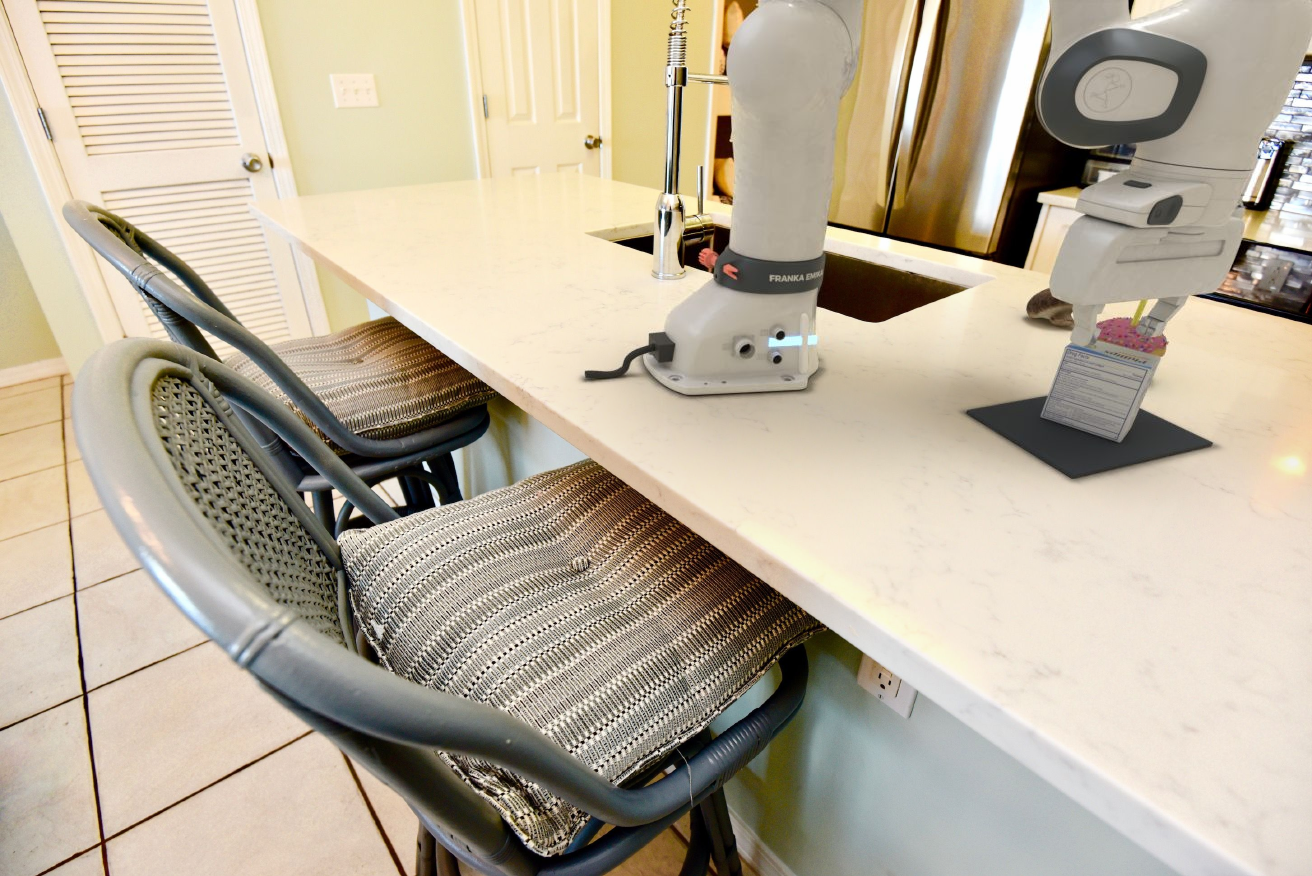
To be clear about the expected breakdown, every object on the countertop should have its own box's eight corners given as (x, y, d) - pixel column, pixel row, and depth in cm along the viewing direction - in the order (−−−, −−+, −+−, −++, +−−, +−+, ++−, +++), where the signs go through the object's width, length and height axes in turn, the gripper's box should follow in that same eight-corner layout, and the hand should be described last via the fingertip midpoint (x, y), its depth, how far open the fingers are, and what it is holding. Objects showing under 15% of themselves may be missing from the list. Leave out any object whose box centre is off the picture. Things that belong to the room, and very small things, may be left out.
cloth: (1072, 478, 63) (1073, 475, 63) (965, 413, 75) (966, 409, 74) (1211, 445, 70) (1213, 442, 70) (1094, 389, 81) (1095, 386, 81)
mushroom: (1099, 315, 95) (1088, 274, 96) (1037, 330, 98) (1027, 290, 98) (1085, 325, 102) (1075, 286, 103) (1028, 339, 105) (1018, 301, 106)
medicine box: (1130, 430, 71) (1163, 356, 67) (1119, 445, 68) (1153, 368, 64) (1051, 405, 76) (1078, 334, 72) (1038, 418, 73) (1065, 344, 69)
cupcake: (1152, 393, 81) (1196, 297, 75) (1073, 376, 84) (1108, 283, 78) (1151, 369, 87) (1190, 279, 81) (1077, 354, 91) (1110, 267, 85)
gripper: (1216, 188, 66) (1156, 320, 73) (1066, 191, 59) (1015, 336, 66) (1286, 201, 61) (1214, 341, 68) (1131, 207, 54) (1069, 361, 61)
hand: (1115, 339), depth 67 cm, fingers open, 8 cm apart
